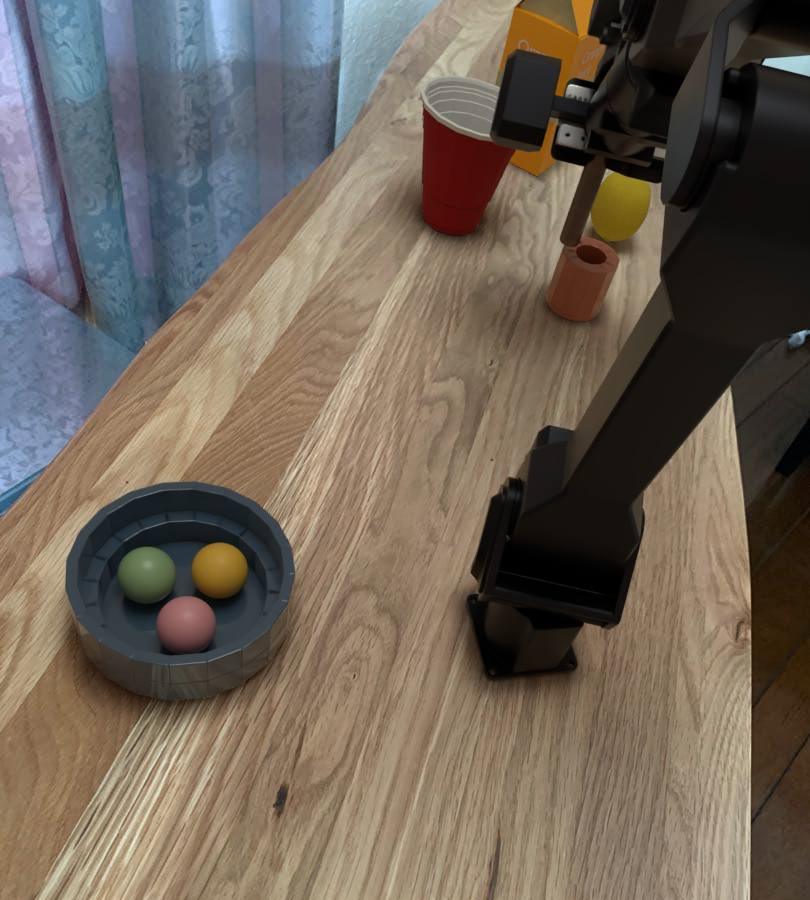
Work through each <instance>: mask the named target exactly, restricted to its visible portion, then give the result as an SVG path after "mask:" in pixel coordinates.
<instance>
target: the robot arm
mask: <svg viewBox="0 0 810 900" xmlns="http://www.w3.org/2000/svg"><path fill="white" fill-rule="evenodd" d="M587 34H588V35H589V36H593V37H597V38H599V44H604V45H606V49H605V53H604V54H603V56H602V58H601V60H600V61H599V63H598V65H597V69H596V73H595V78H594V82H591V81H587V80H583V79H579V78H572V79H570V80H569V81H568V82H567V84H566V87H565V91H564V94H563V97H562V96H558V95H555V93H556V88H557V84H558V80H559V75H560V71H561V65H562V59H558V58H554V57H550V56H546V55H542V54H538V53H534V52H529V51H525V50H521V49H516V50H515V51H513V52H512V53H511V54H509V55H508V56H507V59H506V62H505V66H504V70H503V75H502V79H501V84H500V88H499V93H498V97H497V102H496V106H495V111H494V115H493V120H492V124H491V129H490V134H489V136H490V137H491V139H492V141H493V142H494V144H495V145H500V146H504V147H508V148H512V149H516V150H521V151H525V152H537V151H540V149H541V148H542V145H543V142H544V138H545V135H546V132H547V128H548V123H549V119H550V117H552V118H556V119H558V120H557V124H556V129H555V133H554V138H553V142H552V146H551V151H550V153H551V156H552V158H553V159H555V160H557V161H559V162H561V163H567V164H571V165H574V166H579V167H583V168H584V167H586V166H587V163H588V158H589V154H590V153H591V154H595V155H599V156H603V157H608V158H610V161H609V163H608V166H607V169H606V170H609V171H611V172H616V173H619V174H621V175H623V176H626V177H629V178H634V179H638V180H642V181H646V182H648V183H649V184H655V185H659V184H660V196H659V198H660V202H661V204H662V206H664V213H663V225H662V235H661V236H662V238H661V249H660V259H659V260H660V263H659V279H660V282H659V283H658V285H657V286H656V288H655V290H654V291H653V294H652V295H651V297H650V299H649V301H648V302H647V304H646V306H645V308H644V309H643V311H642V313H641V314H640V316H639V318H638V320H637V322H636V323H635V325H634V326H633V328H632V330H631V332H630V333H629V335H628V336H627V338H626V340H625V342H624V344H623V346H622V347H621V349H620V351H619V353H618V355H617V356H616V357H615V359H614V361H613V362H612V365H611V367H610V368H609V370H608V372H607V373H606V375H605V377H604V379H603V380H602V382H601V384H600V385H599V387H598V389H597V391H596V392H595V395H594V396H593V398H592V400H591V401H590V403H589V404H588V406H587V408H586V410H585V412H584V413H583V415H582V417H581V419H580V421H579V422H578V423H577V425H576V427H575V429H574V430H573V429H569V428H565V427H560V426H556V425H552V424H548V425H547V424H546V426H544V427H542V428H541V429H540V430H539V431H538V432H537V434H536V436H535V438H534V440H533V443H532V445H531V447H530V449H529V450H528V452H527V453H526V454H525V456H524V460H523V461H522V463H521V465H520V466H519V468H518V470H517V471H516V474H515V477H513V476H506V478H505V480H504V482H503V484H500V486H499V489H498V492H497V493H496V494H494V495H493V496H490V499H489V503H488V507H487V510H486V515H485V517H484V522H483V525H482V530H481V533H480V538H479V541H478V545H477V548H476V550H475V551H476V552H475V554H474V557H473V559H472V562H471V565H470V572H469V573H470V575H471V576H472V577H473V578H474V579H475V581H476V584H477V593H471V594H469V595H467V597H466V598H465V606H466V610H467V614H468V617H469V622H470V626H471V629H472V633H473V637H474V641H475V644H476V649H477V651H478V656H479V659H480V663H481V667H482V670H483V674H484V677H485V678H486V679H487V680H489V681H491V682H495V681H504V680H515V679H525V678H535V677H545V676H555V675H565V674H572V673H575V672H576V671H577V669H578V667H579V663H578V660H577V657H576V654H575V653H576V652H575V650H574V647H573V643H574V641H575V640H576V638H577V636H578V635H579V633H580V632H581V630H582V629H583V627H584V626H585V624H587V625H592V626H596V627H600V628H601V629H603V630H609V631H610V630H612V629H613V628H615V627H617V626H619V625H620V623H621V620H622V617H623V612H624V609H625V605H626V602H627V597H628V594H629V590H630V586H631V582H632V579H633V574H634V571H635V567H636V563H637V560H638V555H639V552H640V548H641V544H642V541H643V536H644V532H645V525H646V512H645V509H644V496H645V492H646V490H647V488H648V487H649V486H650V485H651V484H652V482H653V481H654V480H655V479H656V478H657V476H658V475H659V474H660V472H661V471H662V470H663V469H664V468H665V466H666V465H667V464H668V463H669V462H670V461H671V459H672V458H673V456H674V455H675V454H676V453H677V452H678V450H679V449H680V448H681V447H682V445H683V444H684V443H685V442H686V441H687V439H688V438H690V436H691V435H692V433H693V432H694V431H695V429H697V428H698V426H699V425H700V423H701V422H702V421H703V420H704V418H705V417H706V416H707V415H708V414H709V413H710V411H711V410H712V409H713V407H714V406H715V405H716V404H717V403H718V401H719V400H720V399H721V398H722V397H723V395H724V394H725V393H726V391H727V390H728V389H729V388H730V387H731V385H732V384H733V383H734V382H735V380H736V379H737V378H738V377H739V376H740V374H741V373H742V372H743V370H744V369H745V368H746V367H747V366H748V364H749V363H750V362H751V361H752V359H753V358H754V357H755V356H756V355H757V354H758V352H759V351H760V350H761V349H762V348H763V346H765V345H766V344H767V343H770V342H773V341H776V340H779V339H783V338H786V337H789V336H792V335H795V334H798V333H801V332H804V331H807V330H810V75H807V74H801V73H798V72H794V71H790V70H787V69H782V68H778V67H774V66H770V65H766V64H764V62H765V61H766V60H769V59H781V58H782V59H783V58H794V57H808V56H810V0H594V2H593V5H592V9H591V14H590V19H589V25H588V30H587ZM557 161H556V162H557ZM472 601H474V602H475V603H474V602H472ZM569 664H570V665H571V666H570V665H569ZM490 671H493V672H494V673H493V674H492V673H491V672H490Z"/></svg>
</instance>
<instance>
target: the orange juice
mask: <svg viewBox="0 0 810 900" xmlns="http://www.w3.org/2000/svg"><path fill="white" fill-rule="evenodd" d="M593 2H594V0H520V1H519V2H518V3H517V4H516V5H515V6H514V7H513V11H512V16H511V19H510V24H509V28H508V31H507V36H506V40H505V44H504V48H503V51H502V52H503V53H502V57H501V61H500V65H499V68H498V71H497V75H496V79H495V83H494V85H495V86H498V87H500V84H501V79H502V75H503V70H504V66H505V62H506V59H507V56H508V55H509V54H511V53H512V52H513V51H515V50H516V49H521V50H525V51H529V52H534V53H538V54H542V55H546V56H550V57H554V58H558V59H562V65H561V71H560V75H559V80H558V84H557V88H556V93H555V95H558V96H562V97H563V94H564V91H565V87H566V84H567V82H568V81H569V80H570V79H572V78H579V79H583V80H587V81H591V82H594V78H595V73H596V69H597V65H598V63H599V61H600V60H601V58H602V56H603V54H604V53H605V49H606V45H604V44H599V38H597V37H593V36H589V35H588V34H587V30H588V25H589V19H590V14H591V9H592V5H593ZM557 120H558V119H556V118H552V117H550V119H549V123H548V128H547V132H546V135H545V138H544V142H543V145H542V148H541V149H540V151H537V152H525V151H521V150H516V151H515V153H514V155H513V156H512V157H511V159H510V161H509V163H510V164H512V165H514V166H515V167H518V168H520V169H522V170H523V171H526V172H528V173H529V174H531V175H534V176H536V177H539V176H540V175H541V174H543V173H544V172H545V171H546V170H548V169H549V168H550V167H552V166H553V165H554V164H555V163H556V162H557V160H555V159H553V158H552V156H551V153H550V151H551V146H552V142H553V138H554V133H555V129H556V124H557Z"/></svg>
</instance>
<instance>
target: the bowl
mask: <svg viewBox="0 0 810 900" xmlns="http://www.w3.org/2000/svg"><path fill="white" fill-rule="evenodd" d="M213 543H226V544H230V545H232V546H234V547H236V548H237V549H238V550H240V551H241V553H242V554H243V555H244V557H245V559H246V561H247V564H248V577H247V580H246V582H245V584H244V586H243V587H242V588H241V590H240V591H239V592H237V593H236V594H234V595H233V596H230V597H228V598H222V599H217V598H211V597H208V596H206V595H205V594H203V593H202V592H200V591H199V590H198V589H197V587H196V586H195V584H194V582H193V580H192V576H191V566H192V562H193V559H194V558H195V556H196V554H197V553H198V552H199V551H200V550H201V549H202V548H204V547H205V546H207V545H210V544H213ZM140 547H154V548H157V549H160V550H162V551H163V552H165V553H166V554H167V555H168V556H169V557H170V558H171V559H172V561H173V563H174V565H175V568H176V582H175V585H174V587H173V589H172V591H171V592H170V593H169V594H168V595H167V596H166V597H165V598H164V599H162V600H160V601H158V602H155V603H150V604H142V603H138V602H135V601H133V600H131V599H129V598H128V597H127V596H126V595H125V594H124V593H123V592H122V590H121V589H120V587H119V584H118V581H117V571H118V567H119V564H120V562H121V561H122V559H123V558H124V557H125V556H126V555H127V554H128V553H129V552H131V551H132V550H134V549H137V548H140ZM295 566H296V565H295V560H294V553H293V546H292V545H291V542H290V540H289V539H288V537H287V535H286V533H285V532H284V530H283V528H282V527H281V525H280V523H279V521H278V520H277V519H276V518H275V517H274V516H272V515H271V514H270V513H269V512H268V511H267V510H266V509H265V508H264V507H262V505H261V504H259V503H258V502H257V501H256V500H253V499H251V498H249V497H248V496H245V495H244V494H241V493H239V492H237V491H235V490H233V489H231V488H229V487H227V486H222V485H216V484H211V483H206V482H202V481H196V480H195V481H193V480H192V481H191V480H190V481H167V482H159V483H156V484H153V485H149V486H146V487H142V488H138V489H134V490H131V491H129V492H126V493H125V494H123V495H121V496H120V497H117V498H116V499H114V500H112V501H111V502H109V503H108V504H106V505H104V506H103V507H101V508H100V509H99V510H97V512H96V513H95V514H94V515H93V516H92V517H91V518H90V520H88V521H87V523H85V525H84V526H83V527H82V528H81V529H80V530H79V532H78V534H77V535H76V537H75V540H74V542H73V544H72V545H71V549H70V551H69V552H68V554H67V557H66V560H65V578H64V579H65V580H64V581H65V582H64V591H65V594H66V598H67V601H68V605H69V610H70V613H71V617H72V620H73V624H74V629H75V631H76V634H77V636H78V639H79V641H80V644H81V647H82V650H83V652H84V654H85V656H86V657H87V658H88V659H89V660H90V662H91V663H92V664H93V665H94V666H95V667H96V668H97V669H98V670H99V672H101V674H102V675H103V676H104V677H105V678H106V679H108V680H109V681H112V682H113V683H114V684H117V685H119V686H121V687H122V688H125V689H127V690H128V691H130V692H132V693H134V694H136V695H139V696H142V697H143V696H144V697H150V698H154V699H160V700H166V701H169V702H170V701H184V700H195V699H205V698H211V697H214V696H216V695H218V694H222V693H224V692H226V691H229V690H231V689H234V688H237V687H240V686H242V684H244V683H245V682H247V681H248V680H250V678H252V677H253V676H254V675H255V674H257V673H258V672H259V671H261V670H262V669H263V668H264V667H266V666H267V665H268V664H270V662H271V660H272V659H273V658H274V656H275V654H276V653H277V651H278V650H279V648H280V647H281V645H282V644H283V643H284V640H285V638H286V635H287V631H288V627H289V624H290V619H291V615H292V611H293V610H292V609H293V602H294V601H293V599H294V593H295V592H294V590H295V583H296V582H295V580H296V568H295ZM183 596H192V597H196V598H199V599H201V600H203V601H204V602H206V603H207V604H208V605H209V606H210V607H211V609H212V610H213V612H214V614H215V617H216V623H217V627H216V633H215V636H214V638H213V640H212V641H211V643H210V644H209V645H208V646H207V647H206V648H205V649H204V650H202V651H200V652H198V653H196V654H186V655H179V654H176V653H173V652H171V651H169V650H168V649H167V648H165V647H164V646H163V645H162V643H161V642H160V640H159V638H158V636H157V632H156V621H157V617H158V614H159V613H160V611H161V609H162V608H163V607H164V606H165V605H166V604H167V603H168V602H169V601H171V600H173V599H175V598H178V597H183Z"/></svg>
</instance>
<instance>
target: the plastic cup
mask: <svg viewBox="0 0 810 900" xmlns="http://www.w3.org/2000/svg"><path fill="white" fill-rule="evenodd" d="M499 88H500V87H498V86H495V84H492V83H489V82H486V81H484V80H481V79H478V78H474V77H468V76H462V75H455V74H453V75H452V74H451V75H436V76H434V77H432V78H430V79H428V80H426V81H424V82H423V85H422V87H421V89H420V91H419V94H420V95H419V96H420V100H421V102H422V117H423V118H422V129H423V130H422V131H423V132H422V133H423V134H422V159H421V161H422V163H421V185H422V188H421V190H422V191H421V194H422V195H421V210H422V217H423V219H424V222H425V223H427V225H429V227H431V228H432V229H434V230H436V231H438V232H439V233H442V234H446V235H451V236H464V235H467V234H472V232H473V231H475V230H477V227H478V225H479V224H480V223H481V220H482V219H483V217H484V214H485V212H486V210H487V207H488V205H489V203H490V202H491V201H492V199H493V197H494V195H495V193H496V190H497V188H498V186H499V184H500V182H501V180H502V178H503V176H504V174H505V171H506V170H507V167H508V165H509V163H510V162H509V161H510V159H511V157H512V156H513V155H514V153H515V151H516V149H512V148H508V147H504V146H500V145H495V144H494V142H493V141H492V139H491V137H490V136H489V134H490V129H491V124H492V120H493V115H494V111H495V106H496V102H497V97H498V93H499Z"/></svg>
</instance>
